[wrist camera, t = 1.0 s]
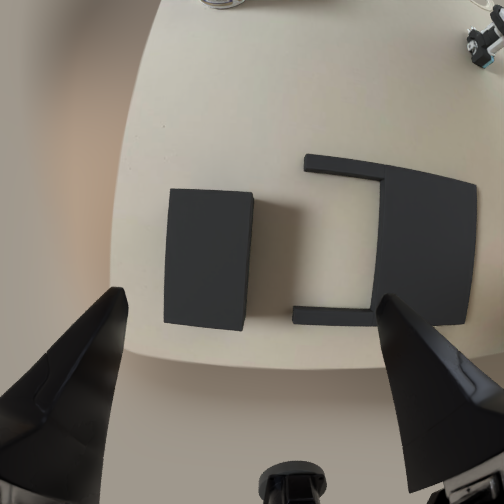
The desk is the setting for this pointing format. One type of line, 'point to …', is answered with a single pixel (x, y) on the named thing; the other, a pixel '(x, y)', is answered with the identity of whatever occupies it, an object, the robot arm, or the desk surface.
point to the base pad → (410, 243)
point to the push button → (487, 39)
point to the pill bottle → (221, 3)
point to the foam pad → (207, 258)
